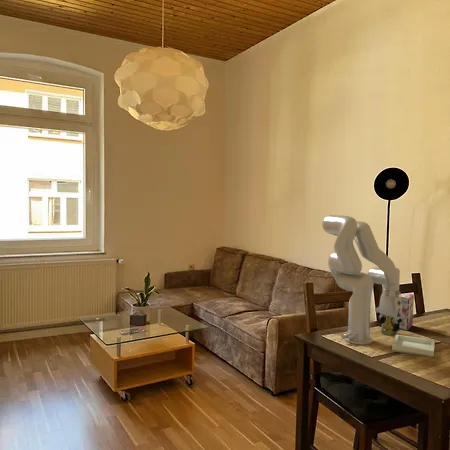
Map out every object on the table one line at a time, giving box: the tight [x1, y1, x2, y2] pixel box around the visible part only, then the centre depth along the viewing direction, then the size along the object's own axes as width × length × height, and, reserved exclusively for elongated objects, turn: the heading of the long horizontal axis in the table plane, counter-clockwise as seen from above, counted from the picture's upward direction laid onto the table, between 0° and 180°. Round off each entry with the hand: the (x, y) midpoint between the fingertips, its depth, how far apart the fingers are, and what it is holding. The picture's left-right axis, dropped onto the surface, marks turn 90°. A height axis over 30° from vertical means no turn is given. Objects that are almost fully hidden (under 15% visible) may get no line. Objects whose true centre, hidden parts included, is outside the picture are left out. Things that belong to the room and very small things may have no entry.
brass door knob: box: [380, 315, 398, 337], centre depth 208 cm, size 7×7×10 cm
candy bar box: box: [399, 293, 415, 331], centre depth 218 cm, size 11×5×16 cm, turn 144°
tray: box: [391, 334, 436, 359], centre depth 188 cm, size 16×16×3 cm
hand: (389, 328), depth 208 cm, fingers closed on brass door knob, 7 cm apart
